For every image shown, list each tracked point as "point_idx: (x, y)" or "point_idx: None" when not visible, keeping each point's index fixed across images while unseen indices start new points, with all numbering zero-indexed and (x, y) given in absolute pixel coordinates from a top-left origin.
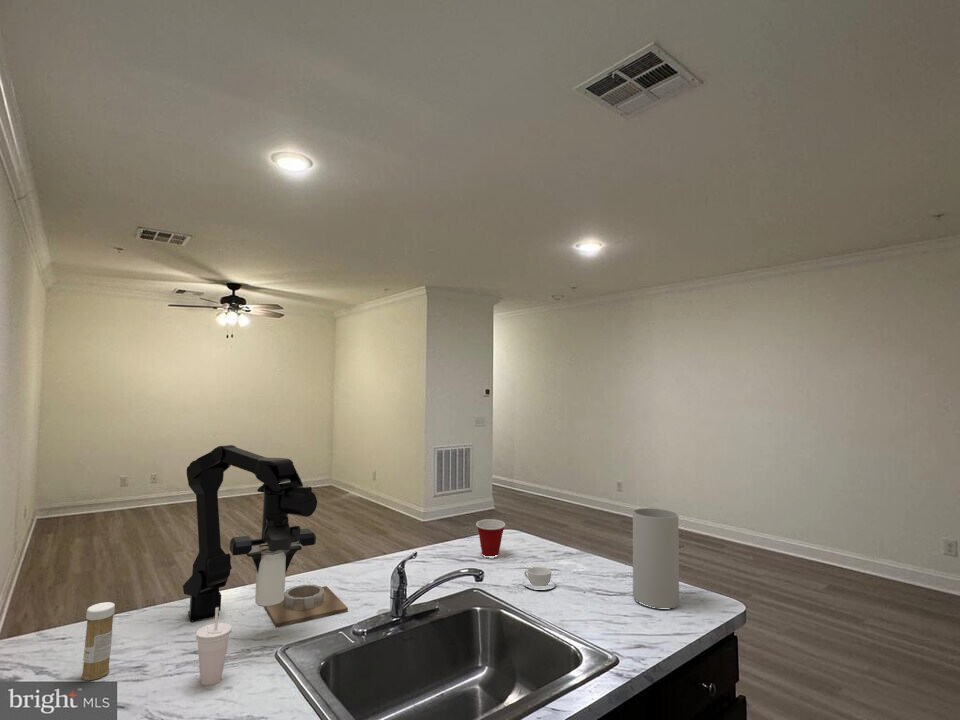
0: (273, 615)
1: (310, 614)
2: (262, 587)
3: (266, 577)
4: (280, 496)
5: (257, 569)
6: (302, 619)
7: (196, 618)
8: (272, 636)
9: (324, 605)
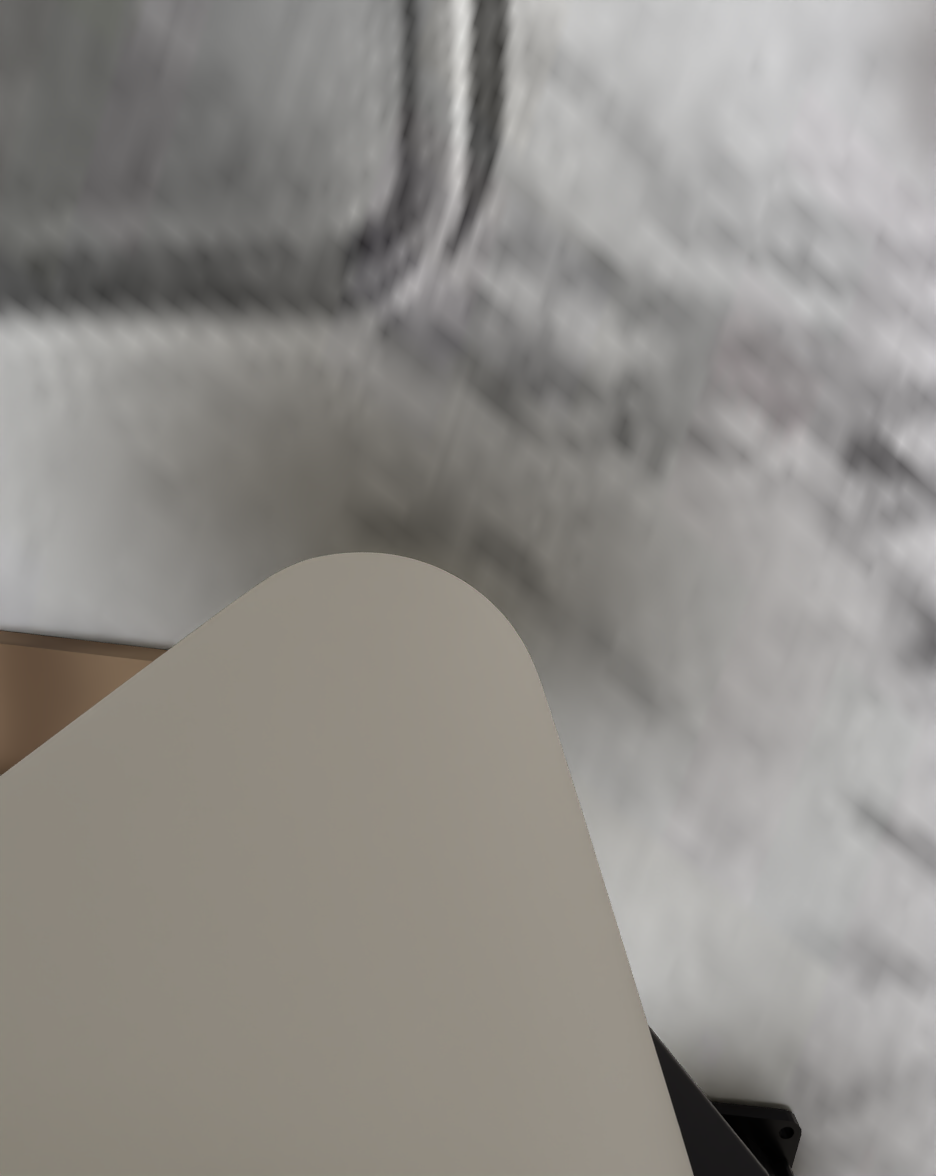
0: None
1: (11, 676)
2: (530, 713)
3: (487, 753)
4: None
5: (706, 1117)
6: (99, 648)
7: (761, 1127)
8: (396, 537)
9: None
